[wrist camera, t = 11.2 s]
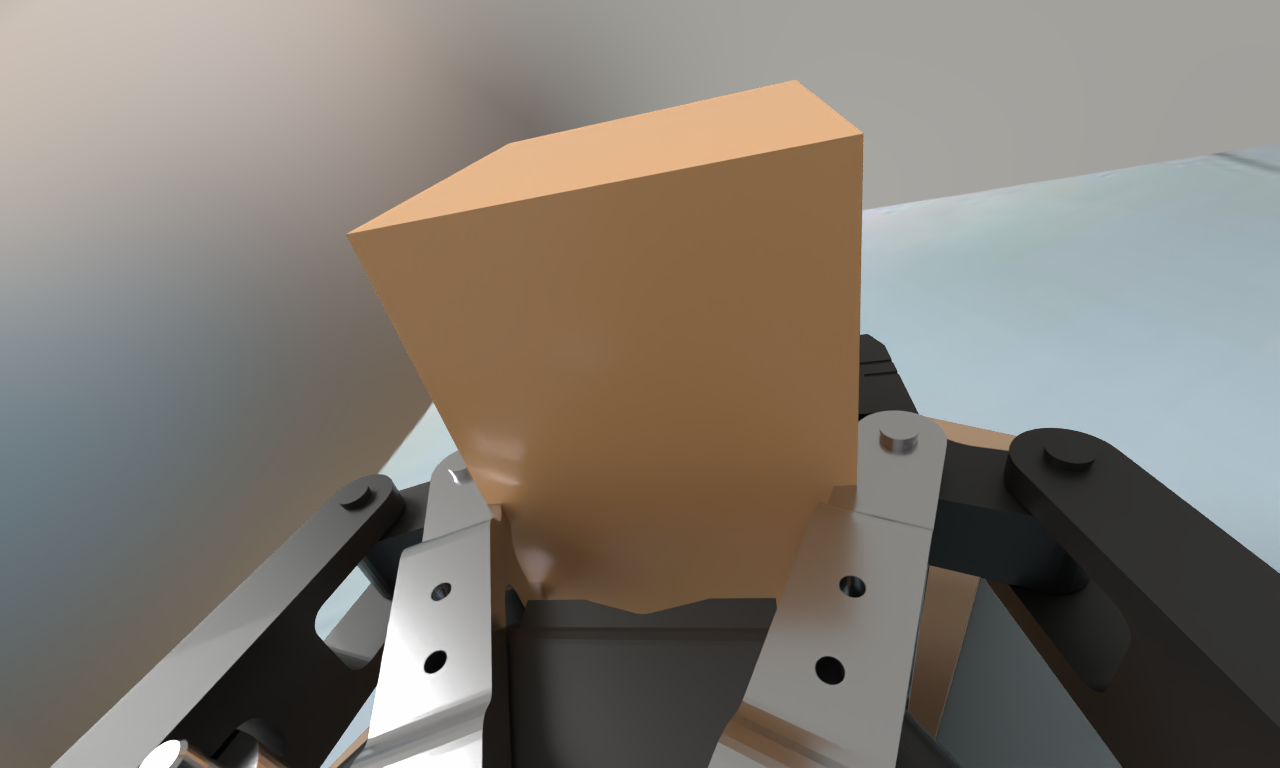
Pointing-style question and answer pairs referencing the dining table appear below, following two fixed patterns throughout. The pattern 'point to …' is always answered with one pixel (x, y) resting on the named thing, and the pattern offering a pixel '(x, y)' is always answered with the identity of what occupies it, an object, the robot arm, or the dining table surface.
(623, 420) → the light orange rectangular block
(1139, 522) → the robot arm
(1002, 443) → the jig plate
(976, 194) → the dining table surface
